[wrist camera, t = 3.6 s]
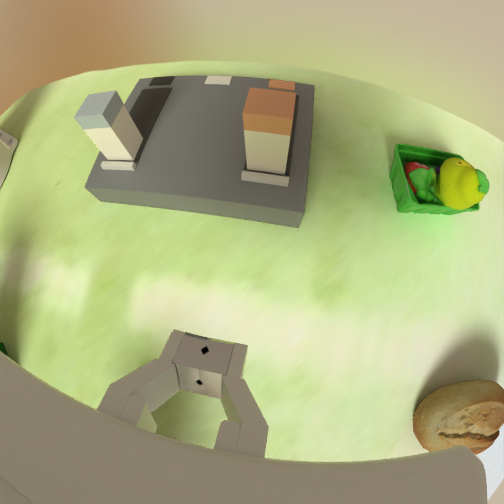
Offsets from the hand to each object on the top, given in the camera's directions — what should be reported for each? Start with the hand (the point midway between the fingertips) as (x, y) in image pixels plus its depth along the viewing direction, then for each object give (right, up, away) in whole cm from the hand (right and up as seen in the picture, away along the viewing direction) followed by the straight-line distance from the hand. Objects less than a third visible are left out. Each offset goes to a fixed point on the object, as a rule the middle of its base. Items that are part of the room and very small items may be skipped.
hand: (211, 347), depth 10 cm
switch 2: (+3, +13, +15) cm, 20 cm away
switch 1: (-13, +15, +17) cm, 26 cm away
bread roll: (+26, -16, +12) cm, 33 cm away
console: (-4, +17, +21) cm, 27 cm away
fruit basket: (+23, +10, +19) cm, 32 cm away
